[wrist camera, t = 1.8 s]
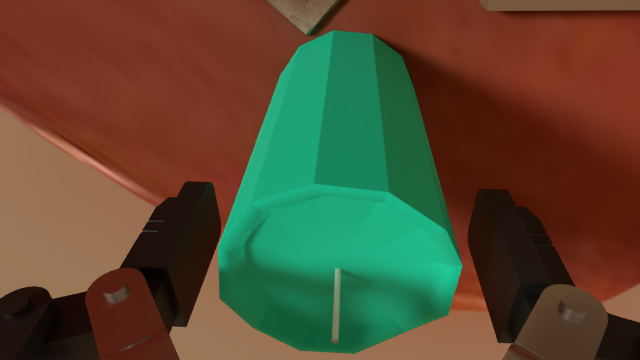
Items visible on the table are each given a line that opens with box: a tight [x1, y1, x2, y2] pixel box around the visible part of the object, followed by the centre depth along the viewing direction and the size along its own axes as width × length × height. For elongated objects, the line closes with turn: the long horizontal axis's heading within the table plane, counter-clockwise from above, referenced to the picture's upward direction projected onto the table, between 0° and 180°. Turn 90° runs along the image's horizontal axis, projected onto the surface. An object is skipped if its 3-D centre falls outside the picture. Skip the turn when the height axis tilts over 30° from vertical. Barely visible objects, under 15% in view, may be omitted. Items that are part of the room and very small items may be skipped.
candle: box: [218, 30, 462, 354], centre depth 14 cm, size 6×6×12 cm
